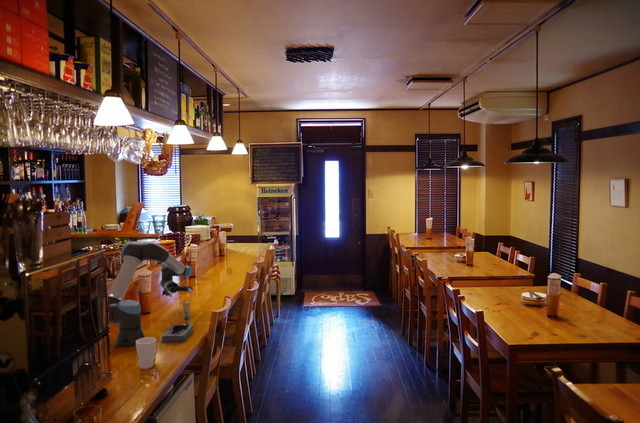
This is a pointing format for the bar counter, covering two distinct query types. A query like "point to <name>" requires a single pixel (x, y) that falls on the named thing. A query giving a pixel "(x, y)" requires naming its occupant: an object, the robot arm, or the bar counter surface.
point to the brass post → (186, 313)
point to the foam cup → (146, 351)
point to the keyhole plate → (177, 333)
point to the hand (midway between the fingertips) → (181, 293)
